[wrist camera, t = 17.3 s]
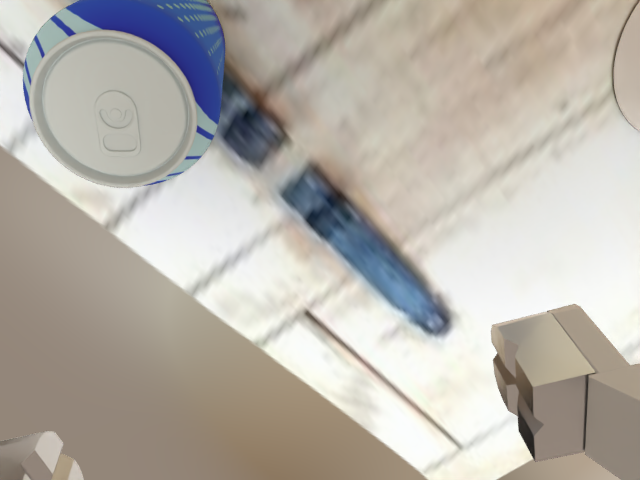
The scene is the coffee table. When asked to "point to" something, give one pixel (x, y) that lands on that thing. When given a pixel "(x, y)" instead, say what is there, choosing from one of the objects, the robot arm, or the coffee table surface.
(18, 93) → the coffee table surface
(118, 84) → the beer can
